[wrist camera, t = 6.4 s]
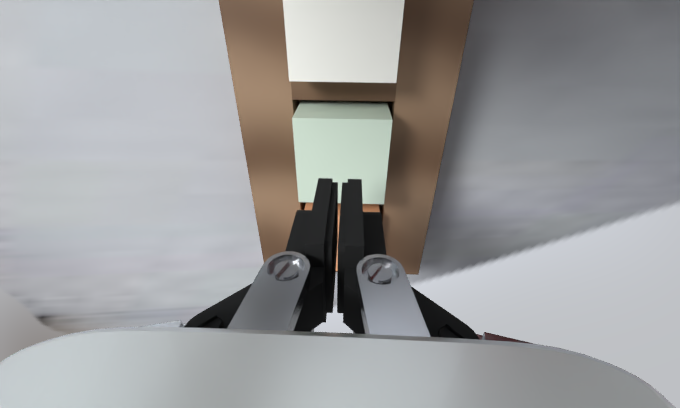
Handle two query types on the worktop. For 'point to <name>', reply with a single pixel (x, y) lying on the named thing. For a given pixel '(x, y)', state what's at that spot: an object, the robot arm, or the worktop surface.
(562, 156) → the worktop surface
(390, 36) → the ivory key
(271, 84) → the key panel
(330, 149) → the sage key
